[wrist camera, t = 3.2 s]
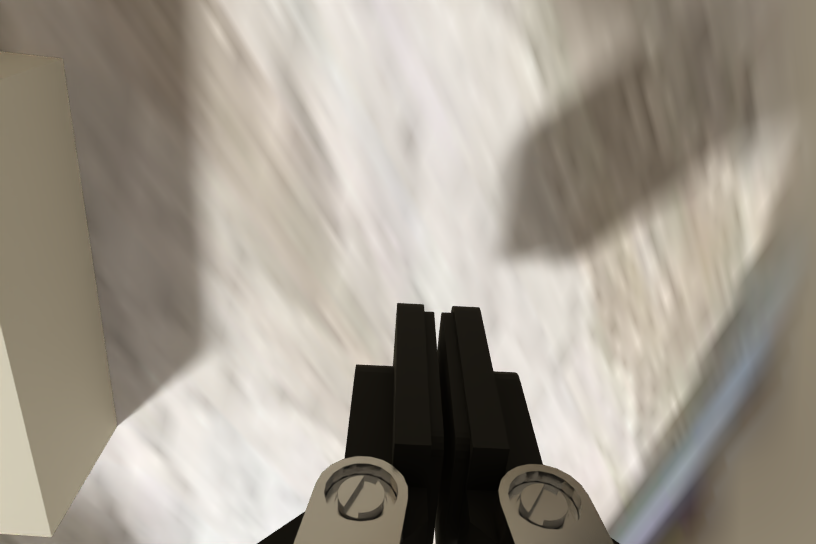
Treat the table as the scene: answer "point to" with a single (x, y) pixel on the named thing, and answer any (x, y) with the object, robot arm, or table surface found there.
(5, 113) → the beige flat square block
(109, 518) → the table surface
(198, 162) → the table surface
